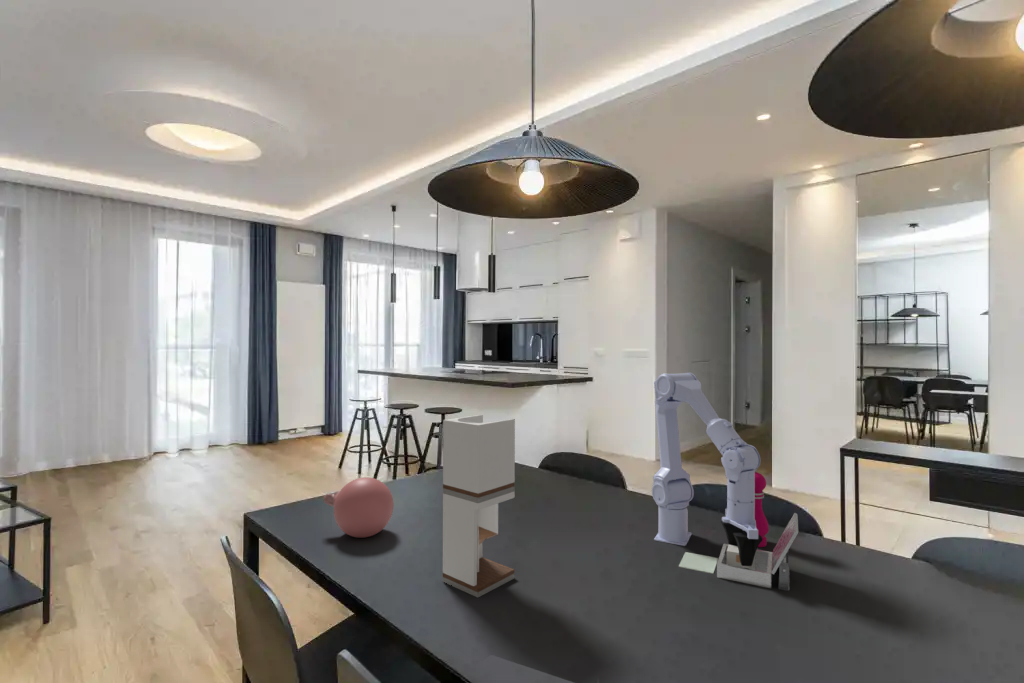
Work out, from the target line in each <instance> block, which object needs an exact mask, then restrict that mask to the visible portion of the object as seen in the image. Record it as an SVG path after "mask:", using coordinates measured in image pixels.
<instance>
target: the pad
mask: <svg viewBox="0 0 1024 683" xmlns="http://www.w3.org/2000/svg"><path fill="white" fill-rule="evenodd" d="M718 559H719V557H714V556H709V555H704V554H698V553H694V552H686V551H685V552H684V554H683V557H682V558H681V560H680V562H679V564H678V568H682V569H687V570H692V571H697V572H701V573H708V574H714V572H715V570H716V568H717V562H718Z"/></svg>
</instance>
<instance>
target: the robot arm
mask: <svg viewBox="0 0 1024 683" xmlns="http://www.w3.org/2000/svg"><path fill="white" fill-rule="evenodd" d="M653 384H654V386H653V388H654V397H655V399H654V400H655V401H654V407H655V408H654V409H655V416H656V417H655V418H656V420H655V421H656V429H657V442H658V451H659V454H658V455H659V466H660V468H659V470H657V472H655V474H654V475H653V476H652V480H653V482H652V488H651V496H652V498H653V501H654V502H655V503H656V505H657V506H658V509H657V510H658V518H657V519H658V522H657V523H658V530H657V531H658V532H657V533H656V536H655V537H654V538H653V540H654V541H657V542H660V543H667V544H673V545H677V546H682V547H685V546H687V544H688V543H689V540H690V538H691V536H692V532H691V531H690V532H689V530H688V529H689V528H688V526H689V525H688V524H689V523H688V522H689V518H688V515H689V514H688V512H689V511H688V506H690V501H692V500H693V498H694V494H695V491H694V487H693V484H692V482H691V478H690V474H689V473H688V472H687V471H686V470H685V469H684V468H683V466H682V465H683V464H682V455H681V444H680V433H679V421H678V413H677V412H678V410H677V409H678V408H679V407H680V406H681V405H682V403H687V404H688V405H689V406H690V407H691V408H692V410H693V411H694V412H695V414H697V416H698V417H699V418H700V419H701V421H702V422H703V423H704V424H705V425H706V430H705V433H706V435H707V436H708V438H709V439H710V440H711V442H712V443H713V444H714V446H715V447H716V449H717V450H718V451H719V453H720V454H721V456H722V457H721V458H720V461H721V464H722V465H721V466H723V469H724V471H725V477H726V483H727V484H726V488H727V490H726V491H727V492H726V496H727V498H726V502H727V505H726V508H725V509H724V510H725V511H724V514H725V515H724V516H722V517H721V521H720V524H721V525H722V527H723V529H724V532H725V535H726V540H727V544H729V545H735V546H738V549H739V557H740V562H741V565H742V566H752V563H753V560H754V556H755V552H756V550H758V548H759V547H758V546H759V544H760V543H761V542H762V537H761V536H760V535H758V530H757V528H756V520H755V470H756V469H757V470H758V469H759V467H760V466H761V459H762V458H761V455H760V453H759V451H758V449H757V448H756V447H755V446H754V445H751V444H748V443H747V442H746V441H744V439H742V438H741V436H740V435H739V434H738V432H737V431H736V429H735V428H734V427H733V426H734V425H733V424H732V422H731V421H729V420H727V419H726V418H721V417H719V415H718V414H717V412H716V410H715V409H714V407H713V406H712V405H711V402H710V401H709V399H708V398H707V397H706V395H705V393H704V392H703V391H702V382H700V380H698V377H697V376H696V375H695V374H694V373H692V372H683V373H681V372H679V373H666V372H665V373H660V374H659V375H658V377H657V378H656V379H655V381H654V382H653Z"/></svg>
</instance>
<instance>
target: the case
mask: <svg viewBox="0 0 1024 683" xmlns="http://www.w3.org/2000/svg"><path fill="white" fill-rule="evenodd" d="M728 545H729V544H728V543H723V545H722V547H721V550H720V552H719V553H720V554H719V557H718V561H717V564H716V578H719V579H722V580H728V581H733V582H737V583H743V584H747V585H753V586H757V587H762V588H766V589H767V588H768V589H772V581H773V580H772V579H773V574H772V573H771V566H772V553H773V551H767V550H762V549H757V550H756V552H755V570H754V569H749V568H744V567H738V566H733V565H728V564H727V548H728ZM778 568H779V569H778V590H782V591H788V592H790V567H789V550H788V551H787V553H786V555H785V556H784V558H783V560H782V562H781V563H780V565H779V567H778Z"/></svg>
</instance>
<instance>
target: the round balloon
mask: <svg viewBox="0 0 1024 683" xmlns="http://www.w3.org/2000/svg"><path fill="white" fill-rule="evenodd" d="M322 498H323V503H325V504H326V505H328V506H329V507H333V516H334V520H335V522H336V524H337V526H338V527H339V529H340V530H341V531H342V532H344V533H345V534H346V535H348V536H350V537H354V538H357V539H358V538H361V539H363V538H370V537H372V536H375V535H376V534H378V533H380V532H381V531H382V530H384V528H385V527H386V526H387V525H388V524H389V522H390V521H391V518H392V516H393V512H394V507H395V506H394V505H395V504H394V497H393V494H392V492H391V491H390V489H389V487H388V486H387V485H386V484H385V483H384V482H382V481H381V480H379V479H377V478H374V477H366V476H365V477H359V478H355V479H353V480H351V481H349V482H347V483H346V484H345V485H344V486H343V487H342V488H341V489H340V490H337V491H335V492H334V493H327V494H324V495H323V497H322Z"/></svg>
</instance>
